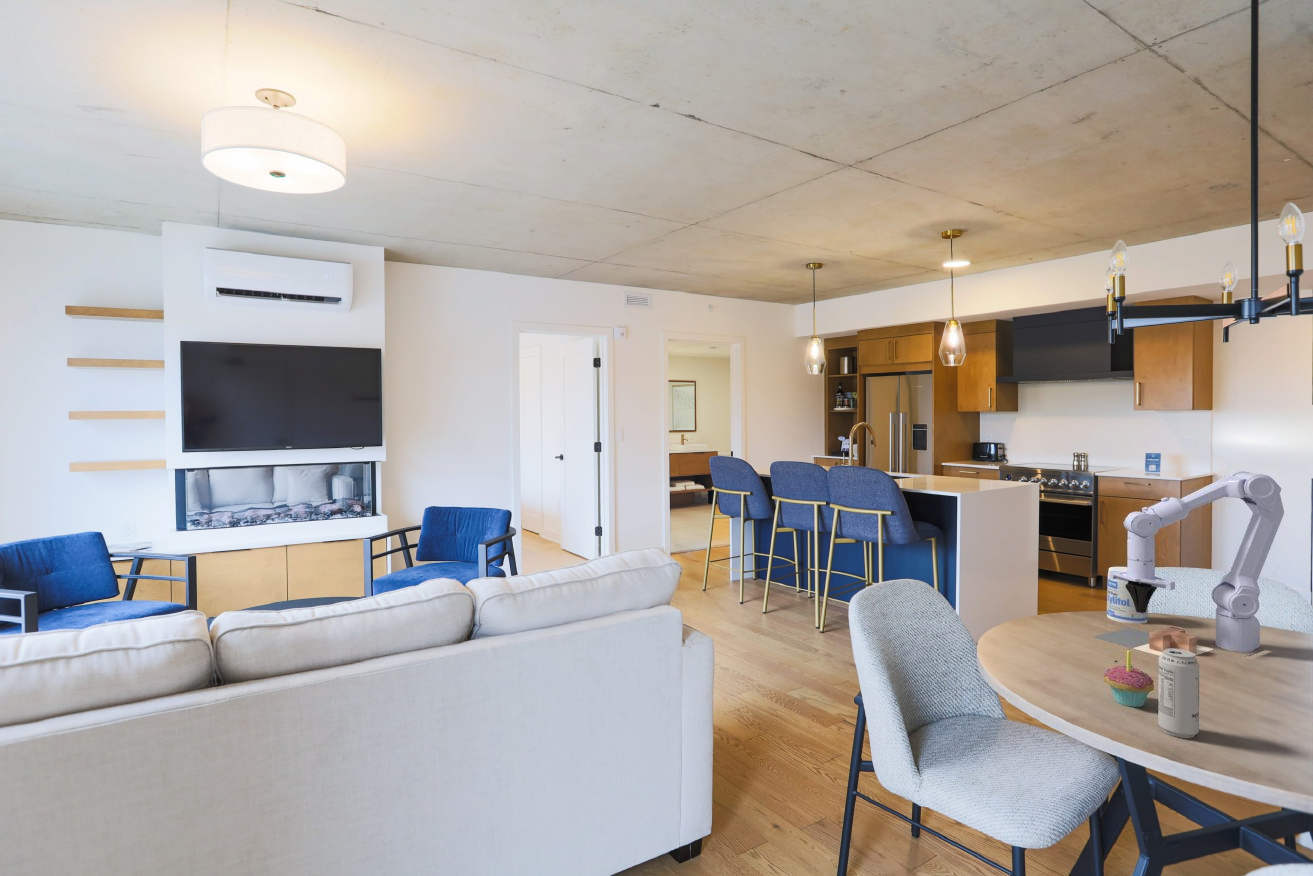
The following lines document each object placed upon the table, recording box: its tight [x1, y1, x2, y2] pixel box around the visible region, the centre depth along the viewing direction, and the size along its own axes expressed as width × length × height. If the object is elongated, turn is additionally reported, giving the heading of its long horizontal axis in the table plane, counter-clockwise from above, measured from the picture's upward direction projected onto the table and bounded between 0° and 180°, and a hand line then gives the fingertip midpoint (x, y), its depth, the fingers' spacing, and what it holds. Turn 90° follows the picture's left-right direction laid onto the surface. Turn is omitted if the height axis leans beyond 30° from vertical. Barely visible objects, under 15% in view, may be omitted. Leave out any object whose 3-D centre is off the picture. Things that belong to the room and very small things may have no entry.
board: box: [1092, 627, 1215, 657], centre depth 174 cm, size 16×20×1 cm
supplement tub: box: [1106, 566, 1149, 625], centre depth 194 cm, size 10×10×15 cm
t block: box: [1148, 626, 1198, 653], centre depth 168 cm, size 7×10×4 cm
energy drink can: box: [1157, 648, 1200, 739], centre depth 127 cm, size 6×6×15 cm
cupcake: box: [1103, 647, 1155, 708], centre depth 141 cm, size 9×8×12 cm
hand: (1141, 612), depth 176 cm, fingers closed
